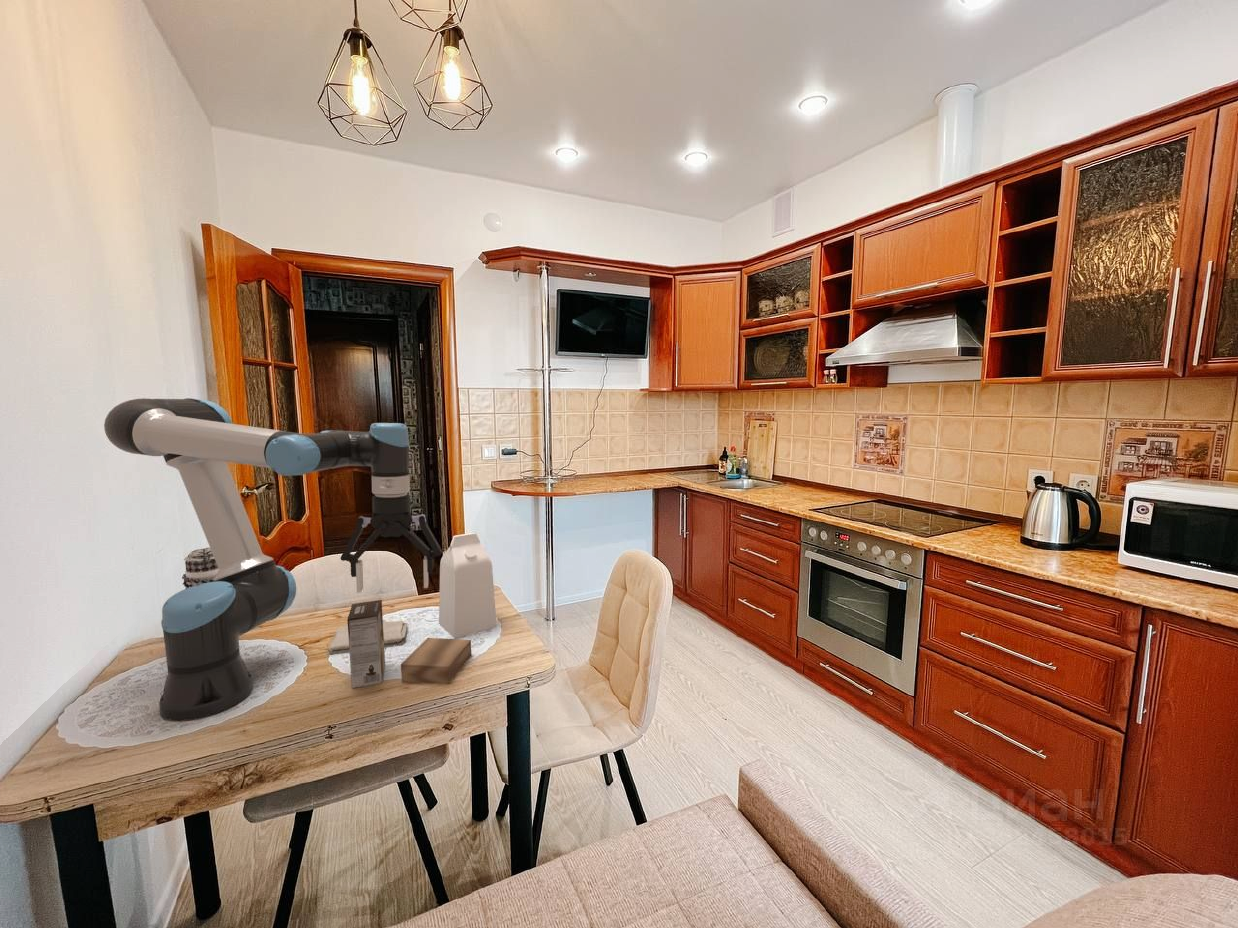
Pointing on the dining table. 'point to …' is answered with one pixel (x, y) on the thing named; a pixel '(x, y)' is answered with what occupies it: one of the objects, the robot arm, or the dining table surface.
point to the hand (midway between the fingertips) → (393, 588)
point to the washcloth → (391, 630)
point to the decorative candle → (199, 568)
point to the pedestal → (436, 661)
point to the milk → (466, 588)
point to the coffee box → (366, 643)
